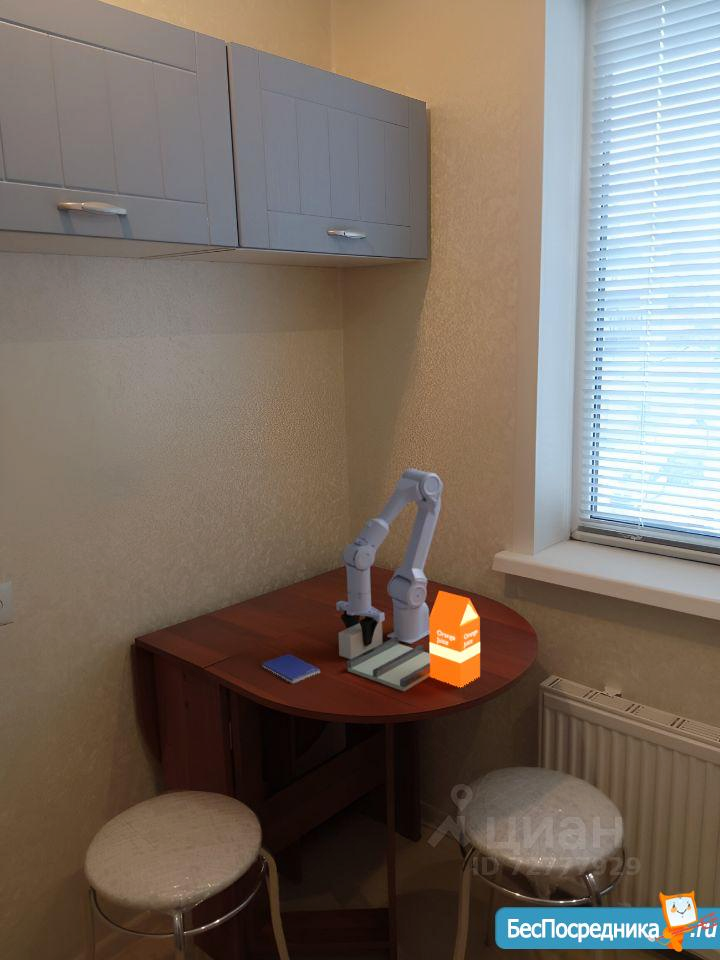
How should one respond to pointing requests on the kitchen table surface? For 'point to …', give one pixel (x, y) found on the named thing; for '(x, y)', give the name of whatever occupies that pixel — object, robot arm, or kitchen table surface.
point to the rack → (392, 664)
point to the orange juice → (454, 640)
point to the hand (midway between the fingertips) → (361, 642)
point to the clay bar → (357, 641)
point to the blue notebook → (291, 668)
